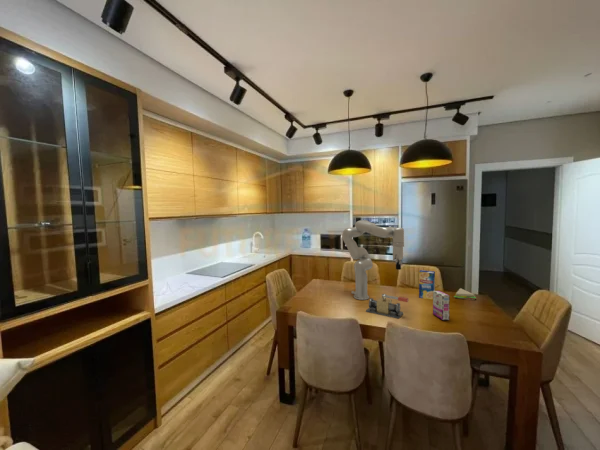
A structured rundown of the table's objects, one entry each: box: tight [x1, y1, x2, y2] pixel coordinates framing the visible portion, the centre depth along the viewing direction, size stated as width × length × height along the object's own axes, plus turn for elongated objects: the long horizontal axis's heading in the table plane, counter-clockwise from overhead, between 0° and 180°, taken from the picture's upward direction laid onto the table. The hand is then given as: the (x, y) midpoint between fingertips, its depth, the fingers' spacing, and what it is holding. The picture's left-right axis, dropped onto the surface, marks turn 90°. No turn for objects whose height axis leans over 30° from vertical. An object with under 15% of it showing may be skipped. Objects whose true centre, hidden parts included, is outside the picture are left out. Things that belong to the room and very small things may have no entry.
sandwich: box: [453, 287, 477, 301], centre depth 214 cm, size 15×20×5 cm
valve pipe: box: [365, 297, 404, 319], centre depth 184 cm, size 23×11×11 cm, turn 54°
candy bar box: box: [432, 290, 451, 321], centre depth 175 cm, size 11×5×16 cm, turn 5°
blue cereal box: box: [418, 269, 436, 301], centre depth 212 cm, size 7×11×22 cm, turn 56°
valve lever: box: [381, 293, 409, 303], centre depth 180 cm, size 18×3×2 cm, turn 53°
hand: (398, 269), depth 191 cm, fingers closed
